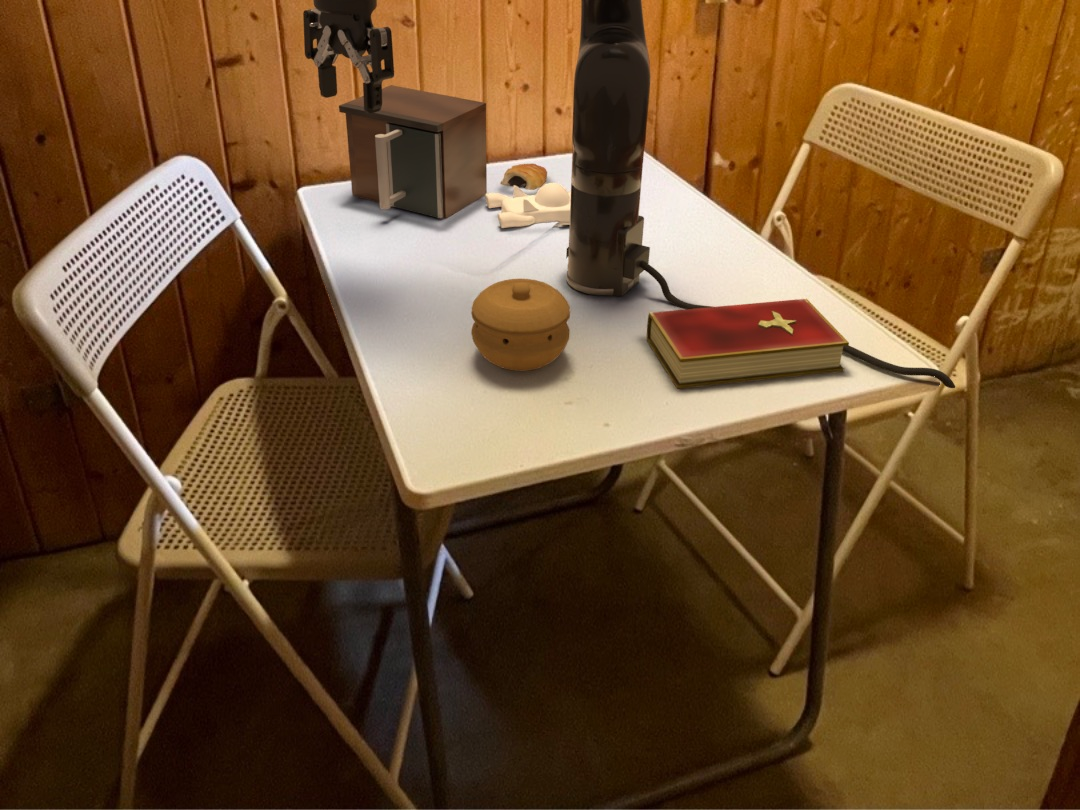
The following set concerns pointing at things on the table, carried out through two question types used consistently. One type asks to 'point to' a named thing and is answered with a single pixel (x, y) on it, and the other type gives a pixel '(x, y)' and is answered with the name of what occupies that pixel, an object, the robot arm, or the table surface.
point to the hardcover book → (744, 342)
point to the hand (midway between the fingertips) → (350, 103)
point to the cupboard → (427, 112)
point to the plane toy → (532, 206)
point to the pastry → (525, 176)
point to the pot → (520, 324)
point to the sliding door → (410, 170)
